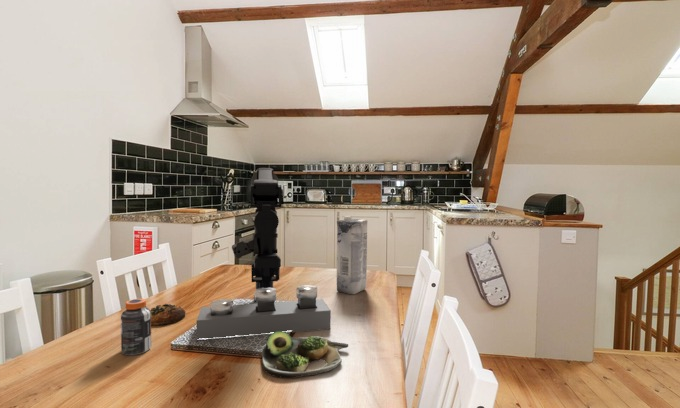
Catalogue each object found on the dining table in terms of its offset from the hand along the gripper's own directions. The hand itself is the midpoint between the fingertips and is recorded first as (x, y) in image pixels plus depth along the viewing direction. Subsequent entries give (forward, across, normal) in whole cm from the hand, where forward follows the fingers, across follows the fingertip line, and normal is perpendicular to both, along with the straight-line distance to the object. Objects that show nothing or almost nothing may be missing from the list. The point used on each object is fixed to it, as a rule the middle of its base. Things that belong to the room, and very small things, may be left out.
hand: (265, 287), depth 96 cm
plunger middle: (+8, 0, 0) cm, 8 cm away
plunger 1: (+10, 0, -11) cm, 15 cm away
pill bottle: (+11, +7, -29) cm, 32 cm away
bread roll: (+11, -13, -27) cm, 32 cm away
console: (+11, 0, 0) cm, 11 cm away
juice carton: (+11, -28, +32) cm, 44 cm away
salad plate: (+11, +19, +6) cm, 23 cm away
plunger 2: (+8, 0, +11) cm, 13 cm away
